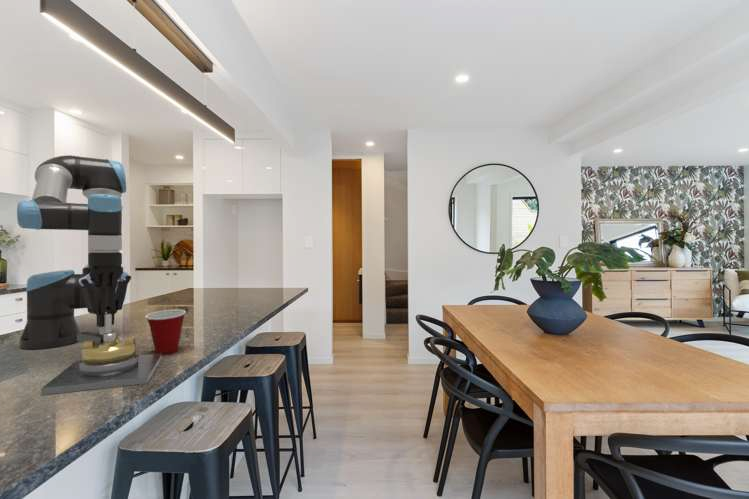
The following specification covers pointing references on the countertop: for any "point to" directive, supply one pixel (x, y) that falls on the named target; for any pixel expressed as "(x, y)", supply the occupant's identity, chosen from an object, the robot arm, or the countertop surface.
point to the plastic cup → (166, 329)
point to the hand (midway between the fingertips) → (105, 337)
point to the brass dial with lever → (105, 348)
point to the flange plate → (102, 382)
